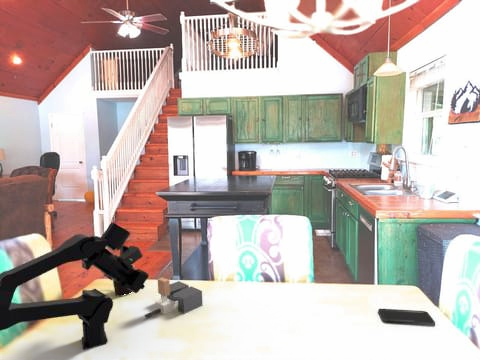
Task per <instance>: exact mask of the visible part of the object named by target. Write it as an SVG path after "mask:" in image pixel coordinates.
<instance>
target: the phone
mask: <svg viewBox="0 0 480 360" xmlns="http://www.w3.org/2000/svg"><path fill="white" fill-rule="evenodd" d="M377 312H378V315H379V317H380V319H381V322H383V323H386V324H402V325H416V326H429V327H430V326H433V327H434V326H436V321H435V320H434V319H433V317H432V316H431V315H430V314H429V312H428V311H425V310H412V309H408V310H407V309H398V308H397V309H392V308H378V310H377Z"/></svg>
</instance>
